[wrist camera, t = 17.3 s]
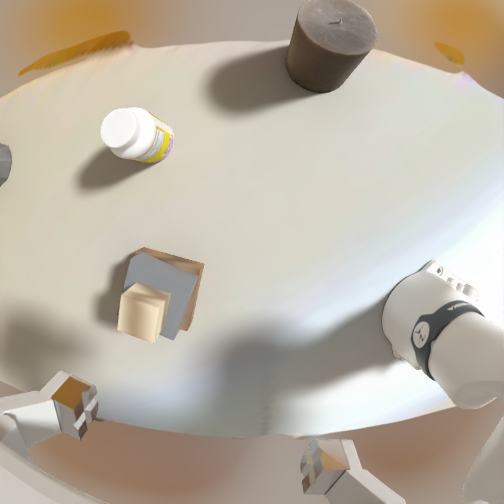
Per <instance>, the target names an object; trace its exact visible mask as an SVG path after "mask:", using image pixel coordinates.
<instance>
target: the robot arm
mask: <svg viewBox="0 0 504 504" xmlns="http://www.w3.org/2000/svg"><path fill="white" fill-rule="evenodd" d="M438 269H439V270H438ZM437 270H438V272H437ZM483 313H484V309H483V305H482V304H480V303H478V290H477V289H476V288H475V287H474V286H472V285H471V284H469V283H468V282H467V281H465V280H464V279H462V278H461V277H459V276H458V275H457V274H455V273H454V272H452V271H451V270H449V269H448V268H446V267H445V266H443V265H442V264H440V263H439V262H437V261H435V260H432V261H430V262H429V263H428V264H427V265H426V266H425V267H424V268H423V269H422V270H421V271H419V272H417V273H415V274H413V275H411V276H409V277H407V278H406V279H404V280H403V281H402V282H400V283H399V284H398V285H397V286H396V288H395V289H394V290H393V291H392V293H391V294H390V296H389V298H388V300H387V302H386V304H385V307H384V310H383V315H382V326H383V331H384V333H385V335H386V337H387V338H388V340H389V341H390V342H391V344H392V350H393V354H394V356H395V357H396V358H405V359H406V361H408V362H409V363H410V364H411V365H412V366H413V367H414V368H415V369H416V370H420V369H422V371H423V372H424V373H425V374H426V375H427V376H428V377H430V378H431V379H432V380H434V381H436V382H437V383H438V384H439V385H440V387H441V388H442V389H443V390H444V392H445V393H446V394H447V395H448V396H449V398H450V399H451V400H452V402H453V403H454V404H455V405H457V406H458V407H461V408H466V409H477V408H480V407H483V406H484V405H486V404H488V403H490V402H491V401H493V400H494V399H496V398H499V399H500V400H501V401H502V402H503V404H504V329H503V328H501V327H499V326H498V325H496V324H494V323H492V322H491V321H489V320H488V319H486V318H485V317H484V315H483ZM96 394H97V390H96V386H94V385H92V384H90V383H88V382H86V381H84V380H82V379H80V378H78V377H76V376H74V375H71V374H69V373H67V372H65V371H63V370H61V371H59V372H58V373H57V374H56V375H55V376H54V377H53V378H52V379H51V380H50V381H49V382H48V383H47V384H46V385H45V386H44V387H43V388H42V389H41V390H40V391H37V390H35V391H31V392H26V393H22V394H17V395H12V396H7V397H2V398H0V504H109V503H106V502H103V501H101V500H99V499H97V498H95V497H92V496H90V495H88V494H86V493H84V492H81V491H80V490H78V489H75V488H74V487H72V486H70V485H68V484H66V483H64V482H62V481H60V480H59V479H57V478H55V477H53V476H51V475H50V474H48V473H46V472H45V471H43V470H41V469H40V468H38V467H37V466H35V465H33V464H32V463H31V462H32V457H31V455H30V453H29V451H28V449H27V447H30V446H32V445H34V444H37V443H39V442H41V441H44V440H46V439H48V438H51V437H53V436H55V435H58V434H59V433H61V432H63V433H65V434H68V435H69V436H71V437H74V438H76V439H78V440H81V439H82V437H83V436H84V434H85V433H86V431H87V424H89V423H91V422H93V420H94V419H95V417H96V414H97V411H98V401H97V400H96V398H95V397H94V396H95V395H96ZM300 467H301V473H302V474H303V475H304V476H305V478H304V479H303V481H302V484H303V492H304V494H314V495H315V494H316V495H324V496H325V497H326V498H327V499H328V500H329V502H330V503H331V504H406V502H405V500H404V499H403V498H402V497H400V496H399V495H397V494H396V493H395V492H394V491H392V490H391V489H390V488H388V487H387V486H386V485H384V484H383V483H382V482H381V481H379V480H378V479H377V478H376V477H374V476H373V475H372V474H371V473H369V472H368V471H367V470H362V467H361V464H360V461H359V458H358V455H357V452H356V449H355V447H354V444H353V441H352V440H337V439H316V438H315V439H313V440H312V441H311V443H310V449H309V450H307V451H305V453H304V455H303V456H302V459H301V466H300ZM462 494H463V500H464V503H465V504H504V415H503V417H502V418H501V420H500V422H499V424H498V425H497V427H496V428H495V430H494V431H493V433H492V435H491V436H490V438H489V439H488V441H487V442H486V444H485V445H484V446H483V448H482V449H481V451H480V452H479V454H478V456H477V458H476V460H475V462H474V464H473V466H472V468H471V470H470V472H469V474H468V476H467V478H466V480H465V482H464V485H463V493H462Z"/></svg>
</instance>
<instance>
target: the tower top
mask: <svg viewBox="0 0 504 504" xmlns="http://www.w3.org/2000/svg"><path fill="white" fill-rule="evenodd" d="M197 279H198V276H197V275H195V274H192V273H190V272H188V271H185V270H183V269H180V268H178V267H176V266H173V265H171V264H168V263H166V262H164V261H161V260H159V259H157V258H154V257H152V256H150V255H147V254H145V253H143V252H141V253H139V254H138V255H136V256H134V257H132V258H131V260H130V263H129V267H128V271H127V275H126V279H125V283H124V287H123V291H122V294H123V293H124V292H126V291H127V290H128V289H129V288H130V287H132V286H133V285H134V284H135V283H136V282H137V283H140V284H143V285H146V286H149V287H152V288H155V289H158V290H161V291H164V292H167V293H170V294H171V295H170V300H169V305H168V310H167V315H166V320H165V326H164V327H163V329H162V330H161V332H160V334H159V335H162V336H164V337H166V338H169V339H171V340H174V339H175V337H176V335H177V333H178V331H179V329H180V327H181V324H182V321H183V318H184V316H185V313H186V310H187V307H188V304H189V301H190V298H191V296H192V293H193V290H194V287H195V284H196V282H197ZM119 309H120V304H119ZM119 309H118V313H117V315H118V316H119Z"/></svg>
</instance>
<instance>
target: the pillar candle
mask: <svg viewBox="0 0 504 504" xmlns="http://www.w3.org/2000/svg"><path fill="white" fill-rule="evenodd" d="M377 35H378V34H377V28H376V25H375V23H374V21H373V19H372V16H371V15H369V14H368V12H367V11H366V10H365V9H363V8H362V7H361V6H358V5H357V4H355V3H354V2H352V1H349V0H307V1H306V2H304V3H303V4H302V6H301V7H300V8H299V11H298V15H297V18H296V22H295V26H294V30H293V34H292V38H291V41H290V45H289V49H288V53H287V56H286V67H287V70H288V73H289V75H290V76H291V78H292V79H293V80H294V81H295V82H296V83H297V84H298V85H300V86H301V87H303V88H305V89H307V90H310V91H313V92H318V93H322V92H331V91H333V90H335V89H337V88H339V87H340V86H341V85H342V84H343V83H344V82H345V80H346V79H347V78H348V77H349V76H350V74H351V73H352V72H353V71H354V70H355V68H356V67H357V66H358V65H359V64H360V62H361V61H362V60H363V59H364V58H365V56H366V55H367V54H368V53H369V52H370V50H371V49H372V48H373V47H374V45H375V43H376V41H377Z"/></svg>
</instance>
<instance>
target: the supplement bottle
mask: <svg viewBox="0 0 504 504" xmlns="http://www.w3.org/2000/svg"><path fill="white" fill-rule="evenodd" d="M100 134H101V138H102V141H103V142H104V143H105V144H106V145H107V146H109V148H110V150H111V151H112V152H113V153H114V154H115V155H116V156H118V157H120V158H124V159H130V160H136V161H141V162H147V163H156V162H159V161H161V160H163V159H164V158H166V157H167V156H168V154H169V153H170V152H171V150H172V148H173V144H174V134H173V131H172V130H171V128H170V127H169V126H168V125H167V124H166V123H165V122H163V121H161V120H160V119H158V118H157V117H155V116H154V115H152V114H150V113H149V112H147V111H146V110H144V109H142V108H138V107H131V108H127V109H123V108H120V109H116V110H114V111H112V112H110V113H109V114H108V115H107V116H106V117H105V119H104V120H103V122H102V125H101V130H100Z"/></svg>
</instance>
